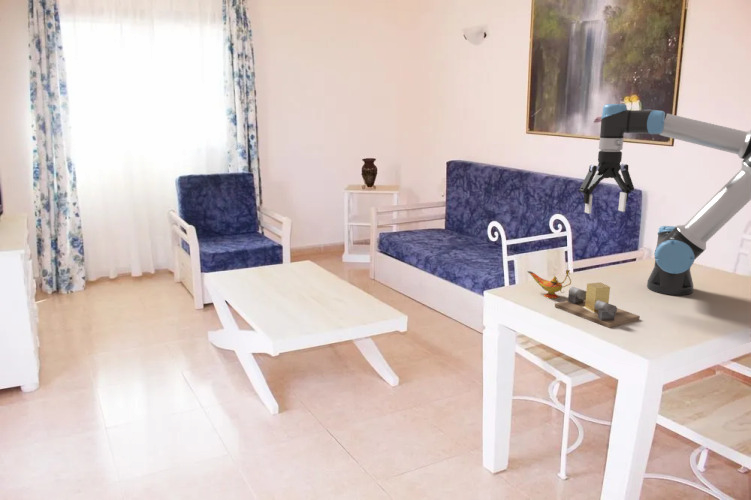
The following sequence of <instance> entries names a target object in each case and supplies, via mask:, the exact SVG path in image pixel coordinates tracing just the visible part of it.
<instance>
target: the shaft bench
mask: <svg viewBox="0 0 751 500" xmlns="http://www.w3.org/2000/svg"><path fill="white" fill-rule="evenodd" d="M567 298H568V299H567V300H564V301H560V302H556V303H554V307H555V308H557V309H558V310H561V311H564V312H567V313H570V314H573V315H575V316H577V317H580V318H582V319H584V320H587V321H591V322H593V323H595V324H597V325H600V326H603V327H606V328H609V329H611V328H614V327H617V326H621V325H625V324H629V323H632V322H636V321H639V320H640V315H638V314H635V313H632V312H629V311H627V310H624V309H621V308H618V307H617V306H616V305H614V304H611V303H605V302H602V301H600V300H598V301H596V303H595V306H594V307H595V309H596V310H598V312H593V311H591V310H589V309H587V308H586V307H585V301H586V290H584V289H582V288H581V289H580V288H577V287H574V286H571V287H569V290H568V297H567Z"/></svg>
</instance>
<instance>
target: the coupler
mask: <svg viewBox="0 0 751 500" xmlns="http://www.w3.org/2000/svg"><path fill="white" fill-rule="evenodd" d="M610 289H611V286H609V285H608V284H607V285H606V284H605V283H603V282H591V283H590V282H589V283H586V290H585V291H586V301H585V307H586V308H587V309H589V310H591V311H593V312H598V310H596V309H595V307H594V306H595V303H596V301H598V300H600V301H602V302H605V303H608V304H610V301H609V300H610V294H611V293H610V292H611V290H610Z"/></svg>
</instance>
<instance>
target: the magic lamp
mask: <svg viewBox="0 0 751 500" xmlns="http://www.w3.org/2000/svg"><path fill="white" fill-rule="evenodd" d="M570 271H571V270H570V269H567V270H566V271H565V274H566V275H565V277H564V280H563V281H561V282H560V281H559V279H558V277H557V276H553V278H551V280H547V279H544V278H541V277H540V276H539V275H538V274H536V273H535V272H533V271H530V270H529V271H527V273H528V274H529V275H531V277H532V279H534V281H535V282H536V283H537V284H538V286H540V287H541V288H542V289H544V291H546V292H547V293H545V294H543V297H545V298H547V297H548V298H547V299H558V298H559V295H558V294H556V293H557V292H561V293H563V294H564V293H565V291H562V289H563V288H565V287H568V286H570V285H571V284H572V279H571V278H570V275H571V272H570ZM567 277H568V280H569V281H570V282H569V283H568V284H565V283H564V282H565V281H566V280H567ZM563 284H565V285H563Z"/></svg>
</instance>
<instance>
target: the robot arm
mask: <svg viewBox="0 0 751 500" xmlns="http://www.w3.org/2000/svg"><path fill="white" fill-rule="evenodd" d="M601 112H602V113H601V117H600V118H601V119H600V131H599V132H600V134H599V142H598V149H599V151H598V152H597V153H598V156H597V161H598V164H597V165H594V164H591V165H589V166H588V167H589V168H588V172H587V173H586V176H585V178H584V180H583V181H582V184H581V186H580V188H579V189H578V191H579V193H582V194H583V204H584V213H585V214H587V215H588V214H589V215H590V214H592V204H593V194H592V192H593V191H594V190H595V189H596V188H597V187H598V186H599V184H600V183H601V181H603V180H604V179H614V181H615V182H616V184H617V185H618V187H619V188H620V190H621V191H620V192H619V198H618V200H619V201H618V208H617V209H618V211H619V212H626V205H627V202H628V200H629V194H631V192H632V191H635V186H634V184H633V180H632V177H631V175H630V172H629V171H630V170H629V165H628V164H625V163H622V158H623V157H622V156H623V152H622V151H621V150H623V147H624V146H623V145H624V137H625V136H624V135H625V134H643V135H644V134H645V135H646V134H648V135H659V136H662V137H666V138H670V139H675V140H678V141H681V142H682V141H683V142H685V143H686V142H687V143H691V144H694V145H699V146H702V147H706V148H709V149H710V148H711V149H714V150H719V151H723V152H728V153H731V154H735V155H737V156H738V158H739V159H742V160H741V169H740V170H739V171H737V172H736V173H735V175H733V177H732V178H730V180H729V181H728V182H727V183H725V184H724V185H723V186H722V187H721V188H720V190H718V192H717V193H715V194H714V195H713V197H711V198H710V199H709V200H708V201H707V202H706V203H705V204H704V205H703V206H702V207H701V208H699V210H698V211H697V212H696V213H695V214H694V215H693V216H692V217H691V218H690V219H689V220H688V221H687V222H686V223H685V224H679V225H676V226H673V225H662V226H660V227H659V228H658V232H657V241H656V247H655V249H654V250H655V251H654V267H653V269H652V271H651V273H650V275H649V277H648V280H647V284H646V287H647V288H648V290H651V291H653V292H656V293H660V294H664V295H670V296H671V295H672V296H685V295H691V294H693V292H694V281H693V278H692V273H691V267H692V265H694V262H695V260H696V259H697V258H699V256H701V254H703V253H704V252H705V250H706V249H707V242H708V241H709V240H710V239H712V237H713V236H715V234H717V233H718V231H720V229H722V228H723V227H724V226H725V225H726V224H727V223H728V222H729V221H730V220H731V219H733V217H734V216H735V215H737V214H738V213H739V212H740V211H741V210H742V209H743V208H744V207H745V206H746V205H747V204H748V203H749V202H750V201H751V129H750V130H748V131H744V130H740V129H736V128H732V127H727V126H724V125H723V126H722V125H718V124H714V123H711V122H706V121H701V120H697V119H693V118H688V117H683V116H681V115H680V116H679V115H675V114H672V113H666V112H665V111H664V110H657V109H652V108H645V109H639V110H638V109H637V110H635V109H633V110H630V109H628V108H627V104H624V103H605V104H604V106H603V107H602V111H601ZM596 172H597V173H596ZM620 172H621V173H620Z"/></svg>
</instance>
